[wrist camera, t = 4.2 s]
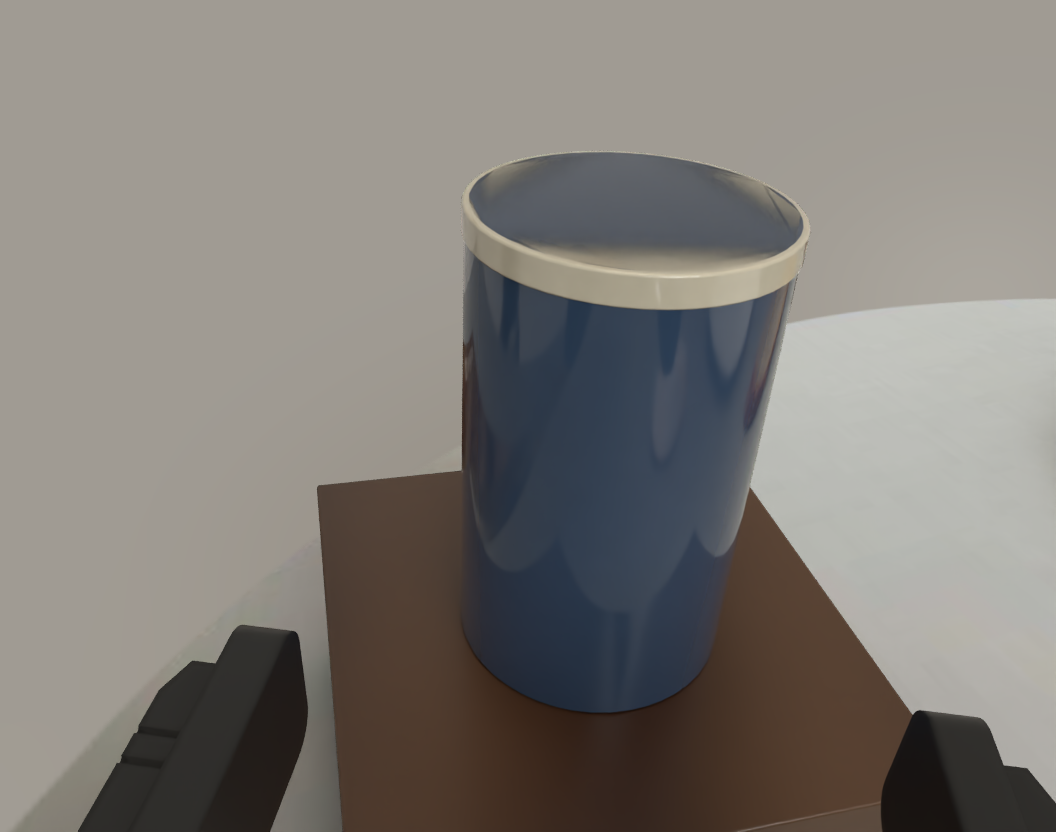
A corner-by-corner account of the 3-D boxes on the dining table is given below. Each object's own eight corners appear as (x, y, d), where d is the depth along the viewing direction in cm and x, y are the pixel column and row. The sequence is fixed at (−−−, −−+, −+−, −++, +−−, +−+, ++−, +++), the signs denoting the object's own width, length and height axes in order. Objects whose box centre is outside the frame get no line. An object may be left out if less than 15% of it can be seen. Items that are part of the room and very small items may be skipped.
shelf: (369, 1091, 19) (348, 912, 15) (334, 660, 29) (316, 484, 25) (874, 964, 22) (964, 785, 18) (687, 608, 32) (719, 442, 28)
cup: (486, 738, 18) (501, 287, 13) (439, 542, 23) (436, 153, 18) (762, 691, 20) (882, 264, 14) (662, 514, 25) (723, 146, 19)
